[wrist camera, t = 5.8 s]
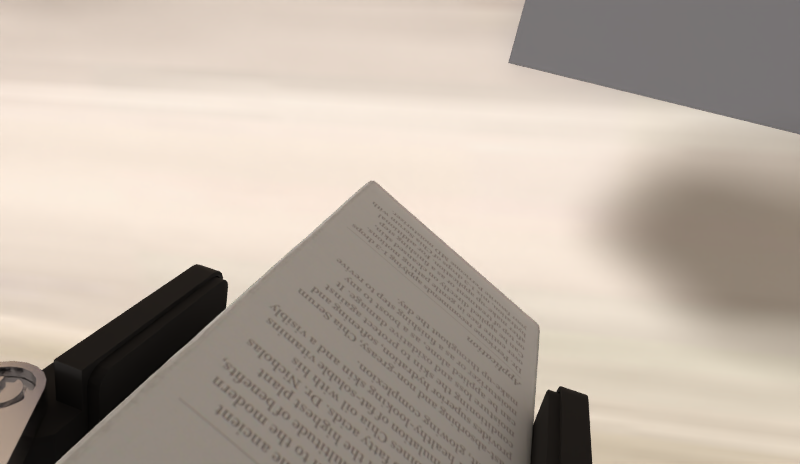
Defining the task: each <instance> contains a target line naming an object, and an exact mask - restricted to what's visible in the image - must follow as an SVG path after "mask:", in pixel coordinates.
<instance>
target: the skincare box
mask: <svg viewBox="0 0 800 464" xmlns="http://www.w3.org/2000/svg"><path fill="white" fill-rule="evenodd" d="M539 334H540V330H539V325H538V324H537V323H536V322H535V321H534V320H533V319H532V318H530V317H529V316H528V315H527V314H526V313H525V312H523V311H522V310H521V309H520V308H519V307H518V306H517V305H515V304H514V303H513V302H512V301H511V300H510V299H509V298H507V297H506V296H505V295H504V294H503V293H502V292H501V291H499V290H498V289H497V288H496V287H495V286H494V285H493V284H491V283H490V282H489V281H488V280H487V279H486V278H485V277H483V276H482V275H481V274H480V273H479V272H478V271H477V270H475V269H474V268H473V267H472V266H471V265H470V264H469V263H467V262H466V261H465V260H464V259H463V258H462V257H461V256H459V255H458V254H457V253H456V252H455V251H454V250H453V249H451V248H450V247H449V246H448V245H447V244H446V243H445V242H443V241H442V240H441V239H440V238H439V237H438V236H436V235H435V234H434V233H433V232H432V231H431V230H430V229H428V228H427V227H426V226H425V225H424V224H423V223H422V222H420V221H419V220H418V219H417V218H416V217H415V216H414V215H413V214H411V213H410V212H409V211H408V210H407V209H406V208H404V207H403V206H402V205H401V204H400V203H399V202H398V201H396V200H395V199H394V198H393V197H392V196H391V195H390V194H389V193H388V192H387V191H385V190H384V189H383V188H382V187H381V186H380V185H379V184H378V183H376V182H375V181H370V182H368V183H366V184H365V185H364V186H363V187H362V188H360V189H359V190H358V191H357V192H356V193H355V194H354V195H352V196H351V197H350V198H349V199H348V200H347V201H346V202H345V203H344V204H343V205H341V206H340V207H339V208H338V209H337V210H336V211H335V212H334V213H333V214H332V215H330V216H329V217H328V218H327V219H326V220H325V221H324V222H323V223H321V224H320V225H319V226H318V227H317V228H316V229H315V230H314V231H313V232H312V233H310V234H309V235H308V236H307V237H306V238H305V239H304V240H303V241H301V242H300V243H299V244H298V245H297V246H295V247H294V248H293V249H292V250H291V251H290V252H289V253H287V254H286V255H285V256H284V257H283V258H282V259H281V260H279V261H278V262H277V263H276V264H275V265H274V266H273V267H272V268H271V269H270V270H268V271H267V272H266V273H265V274H264V275H263V276H262V277H261V278H260V279H258V280H257V281H256V282H255V283H254V284H253V285H251V286H250V287H249V288H248V289H247V290H246V291H245V292H244V293H243V294H241V295H240V296H239V297H238V298H237V299H236V300H235V301H234V302H233V303H232V304H230V305H229V306H228V307H227V308H226V309H225V310H224V311H223V312H221V313H220V314H219V315H218V316H217V317H216V318H215V319H214V320H213V321H211V322H210V323H209V324H208V325H207V326H206V327H205V328H204V329H203V330H202V331H201V332H199V333H198V334H197V335H196V336H195V337H194V338H193V339H192V340H191V341H190V342H188V343H187V344H186V345H185V346H184V347H183V348H182V349H180V350H179V351H178V352H177V353H176V354H174V355H173V356H172V357H171V358H170V359H169V360H168V361H167V362H166V363H165V364H164V365H163V366H162V367H161V368H159V369H158V370H157V371H156V372H155V373H154V374H152V375H151V376H150V377H149V378H148V379H147V380H146V381H145V382H144V383H142V384H141V385H140V386H139V387H138V388H137V389H136V390H135V391H134V392H133V393H132V394H130V395H129V396H128V397H127V398H126V399H125V400H124V401H123V402H122V403H120V404H119V405H118V406H117V407H116V408H115V409H114V410H113V411H112V412H110V413H109V414H108V415H107V416H106V417H105V418H104V419H103V420H102V421H101V422H99V423H98V424H97V425H96V426H95V427H94V428H93V429H92V430H91V431H90V432H89V433H88V434H86V435H85V436H84V437H83V438H82V439H81V440H80V441H79V442H78V443H77V444H76V445H75V446H74V447H72V448H71V449H70V450H69V451H68V452H67V453H66V454H65V455H64V456H63V457H62V458H61V459H60V460H58V461H57V462H56V463H55V464H530V463H531V450H532V435H533V422H534V407H535V394H536V378H537V364H538V350H539Z"/></svg>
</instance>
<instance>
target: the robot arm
mask: <svg viewBox="0 0 800 464" xmlns="http://www.w3.org/2000/svg"><path fill="white" fill-rule="evenodd" d="M227 291H228V283H227V281H226V280H223V276H222V273H221V272H220V271H217V270H214V269H211V268H208V267H205V266H202V265H198V264H196V265H194V266H192V267H190V268H189V269H187V270H186V271H184V272H183V273H182V274H180V275H179V276H177V277H176V278H174V279H173V280H171V281H170V282H168V283H167V284H165V285H164V286H162V287H161V288H159V289H158V290H156V291H155V292H153V293H152V294H151V295H149V296H148V297H146V298H145V299H143V300H142V301H140V302H139V303H137V304H136V305H134V306H133V307H131V308H130V309H128V310H127V311H125V312H124V313H122V314H121V315H120V316H118V317H117V318H115V319H114V320H112V321H111V322H109V323H108V324H106V325H105V326H103V327H102V328H100V329H99V330H97V331H96V332H94V333H93V334H91V335H90V336H89V337H87V338H86V339H84V340H83V341H81V342H80V343H78V344H77V345H75V346H74V347H72V348H71V349H69V350H68V351H66V352H65V353H63V354H62V355H60V356H59V357H58V358H56V359H55V360H54V362H53V363H52V364H50V365H49V366H47V367H46V368H45V369H43V370H41V369H39V368H38V367H37V366H34V365H32V364H29V363H25V362H17V361H8V362H0V464H55V463H56V462H57V461H58V460H60V459H61V458H62V457H63V456H64V455H65V454H66V453H67V452H68V451H69V450H70V449H71V448H72V447H74V446H75V445H76V444H77V443H78V442H79V441H80V440H81V439H82V438H83V437H84V436H85V435H86V434H88V433H89V432H90V431H91V430H92V429H93V428H94V427H95V426H96V425H97V424H98V423H99V422H101V421H102V420H103V419H104V418H105V417H106V416H107V415H108V414H109V413H110V412H112V411H113V410H114V409H115V408H116V407H117V406H118V405H119V404H120V403H122V402H123V401H124V400H125V399H126V398H127V397H128V396H129V395H130V394H132V393H133V392H134V391H135V390H136V389H137V388H138V387H139V386H140V385H141V384H142V383H144V382H145V381H146V380H147V379H148V378H149V377H150V376H151V375H152V374H154V373H155V372H156V371H157V370H158V369H159V368H161V367H162V366H163V365H164V364H165V363H166V362H167V361H168V360H169V359H170V358H171V357H172V356H173V355H174V354H176V353H177V352H178V351H179V350H180V349H182V348H183V347H184V346H185V345H186V344H187V343H188V342H190V341H191V340H192V339H193V338H194V337H195V336H196V335H197V334H198V333H199V332H201V331H202V330H203V329H204V328H205V327H206V326H207V325H208V324H209V323H210V322H211V321H213V320H214V319H215V318H216V317H217V316H218V315H219V314H220V313H221V312H223V311H224V310H225V309H226V302H227ZM530 464H592V452H591V435H590V419H589V402H588V396H587V395H585V394H582V393H579V392H576V391H573V390H570V389H567V388H564V387H561V386H560V387H559V388H558V390H557V392H554V391H551V390H547V392H546V394H545V396H544V399H543V402H542V404H541V407H540V409H539V412H538V414H537V417H536V419H535V422H534V424H533V435H532V450H531V463H530Z"/></svg>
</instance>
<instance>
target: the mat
mask: <svg viewBox="0 0 800 464" xmlns="http://www.w3.org/2000/svg"><path fill="white" fill-rule="evenodd" d="M508 63H511V64H515V65H519V66H523V67H528V68H532V69H536V70H540V71H544V72H548V73H552V74H556V75H560V76H564V77H568V78H572V79H577V80H581V81H585V82H589V83H593V84H597V85H601V86H605V87H609V88H613V89H617V90H621V91H625V92H630V93H634V94H638V95H642V96H646V97H650V98H654V99H658V100H662V101H666V102H670V103H674V104H678V105H683V106H687V107H691V108H695V109H699V110H703V111H707V112H711V113H715V114H719V115H723V116H727V117H732V118H736V119H740V120H744V121H748V122H752V123H756V124H760V125H764V126H768V127H772V128H776V129H780V130H785V131H789V132H793V133H797V134H800V0H526V1H525V4H524V8H523V11H522V15H521V19H520V22H519V26H518V30H517V33H516V37H515V41H514V44H513V48H512V52H511V55H510V59H509V62H508Z"/></svg>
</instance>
